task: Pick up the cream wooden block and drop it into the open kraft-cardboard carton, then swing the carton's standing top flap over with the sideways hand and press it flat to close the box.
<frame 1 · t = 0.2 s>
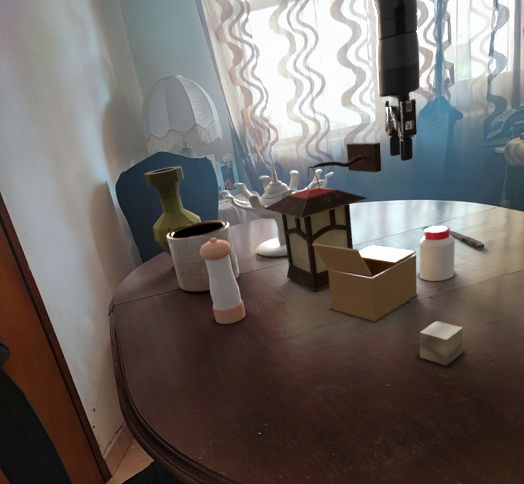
hand: (400, 157, 94), 29 cm above the table, tool pointing down, fingers open, 8 cm apart
lantern: (334, 274, 123), on the table
pill bottle: (436, 275, 111), on the table
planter: (210, 282, 134), on the table
vase: (187, 265, 153), on the table
knife: (451, 238, 133), on the table
pepper shaker: (230, 317, 110), on the table
block: (440, 355, 80), on the table
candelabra: (285, 249, 150), on the table
carton: (374, 302, 103), on the table
flap: (341, 259, 92), point 13 cm above the table, hinge at 120.0°
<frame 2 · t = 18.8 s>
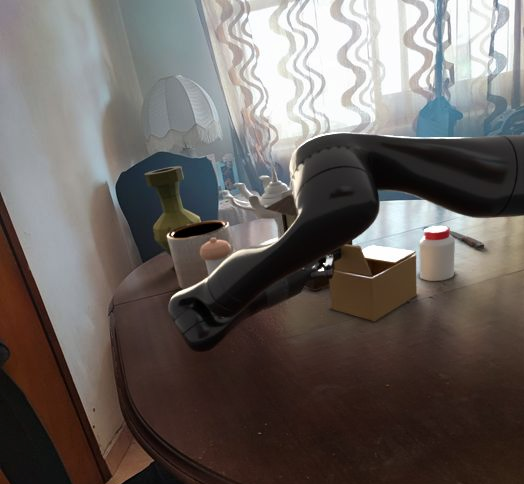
hand: (338, 252, 91), 15 cm above the table, tool horizontal, fingers closed
block: (364, 306, 101), resting on carton
flap: (342, 257, 93), point 13 cm above the table, hinge at 112.7°, touching gripper
everything else where it was.
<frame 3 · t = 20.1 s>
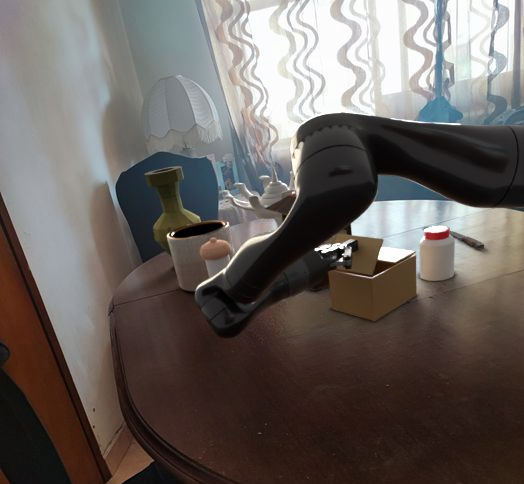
hand: (355, 244, 94), 15 cm above the table, tool horizontal, fingers closed
flap: (354, 253, 95), point 13 cm above the table, hinge at 56.1°
everything else where it was.
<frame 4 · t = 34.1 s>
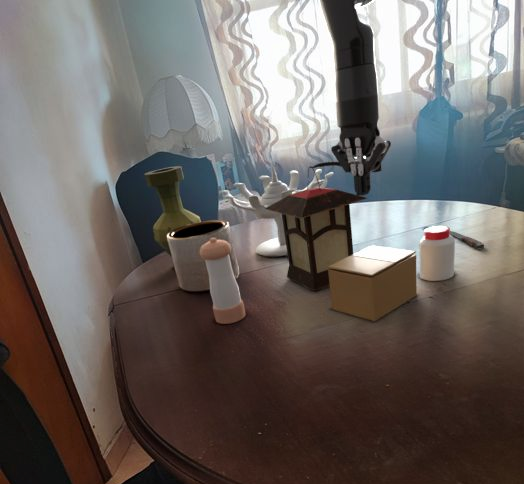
hand: (362, 194, 91), 24 cm above the table, tool pointing down, fingers closed
flap: (360, 265, 97), point 10 cm above the table, hinge at -0.3°
everything else where it was.
at the end: block inside the target area in the carton (3.5 cm from its centre), point 0.4 cm above the carton's base; flap at +0° (first picture: +120°) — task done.
